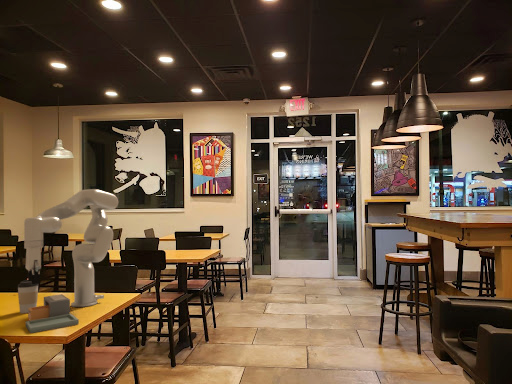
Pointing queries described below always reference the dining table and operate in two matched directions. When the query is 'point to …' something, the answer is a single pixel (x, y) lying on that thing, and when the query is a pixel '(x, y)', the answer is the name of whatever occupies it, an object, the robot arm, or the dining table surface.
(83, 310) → the dining table surface
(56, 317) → the tray
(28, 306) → the coffee cup
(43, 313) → the orange drawer
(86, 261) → the robot arm
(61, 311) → the bay housing
